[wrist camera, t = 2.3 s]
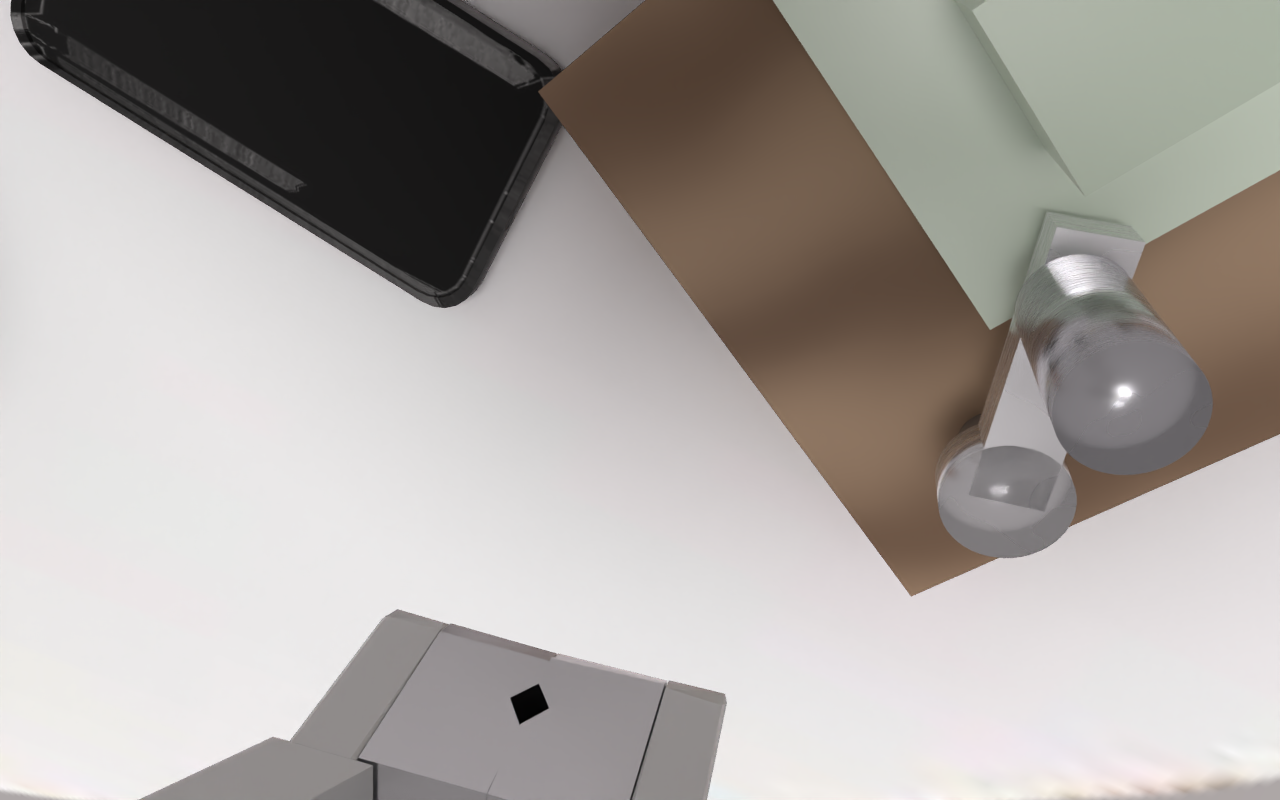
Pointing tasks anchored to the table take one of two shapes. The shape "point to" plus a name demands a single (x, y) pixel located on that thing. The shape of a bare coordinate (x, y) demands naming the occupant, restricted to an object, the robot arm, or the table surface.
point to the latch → (1070, 394)
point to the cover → (1051, 114)
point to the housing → (872, 269)
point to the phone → (330, 114)
